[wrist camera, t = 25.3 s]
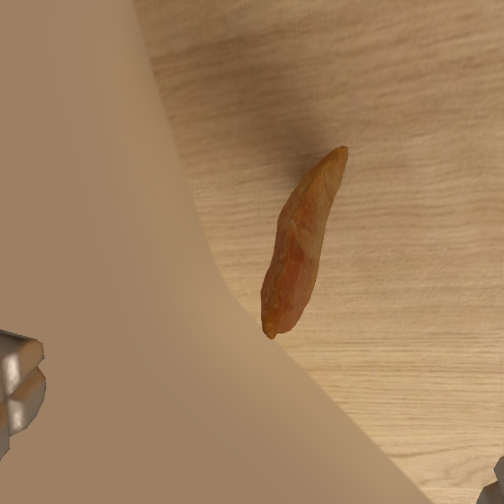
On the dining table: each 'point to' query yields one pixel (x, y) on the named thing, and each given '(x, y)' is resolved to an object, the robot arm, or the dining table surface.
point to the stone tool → (300, 245)
